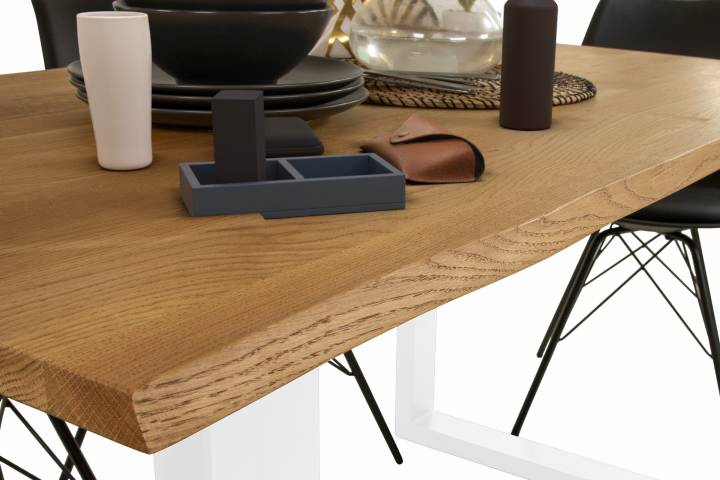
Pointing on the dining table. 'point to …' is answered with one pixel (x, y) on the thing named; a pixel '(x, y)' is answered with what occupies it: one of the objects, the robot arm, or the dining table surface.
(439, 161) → the sunglasses case
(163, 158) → the dining table surface
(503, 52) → the bottle
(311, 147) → the carrying case
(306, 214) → the tray
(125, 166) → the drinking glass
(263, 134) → the black rectangular block
